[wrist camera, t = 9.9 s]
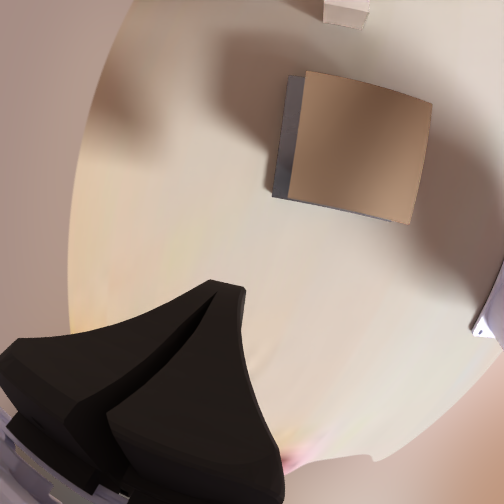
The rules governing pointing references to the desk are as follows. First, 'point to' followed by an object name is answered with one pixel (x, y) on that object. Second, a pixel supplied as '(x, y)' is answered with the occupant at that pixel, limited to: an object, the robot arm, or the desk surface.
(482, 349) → the desk surface
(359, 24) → the off-white cube
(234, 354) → the robot arm
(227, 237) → the desk surface
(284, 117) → the post
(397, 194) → the brown rectangular block
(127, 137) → the desk surface
